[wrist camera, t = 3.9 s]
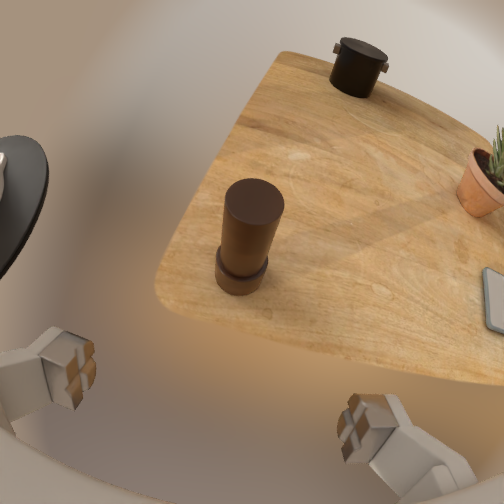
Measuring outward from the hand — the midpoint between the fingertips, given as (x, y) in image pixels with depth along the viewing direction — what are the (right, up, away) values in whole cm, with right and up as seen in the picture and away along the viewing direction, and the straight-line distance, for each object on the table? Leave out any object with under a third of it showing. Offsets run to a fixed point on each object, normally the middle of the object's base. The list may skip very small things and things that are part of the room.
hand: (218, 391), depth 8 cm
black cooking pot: (+19, +34, +38) cm, 54 cm away
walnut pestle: (0, +2, +17) cm, 17 cm away
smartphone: (+36, -4, +19) cm, 41 cm away
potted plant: (+34, +11, +28) cm, 45 cm away
